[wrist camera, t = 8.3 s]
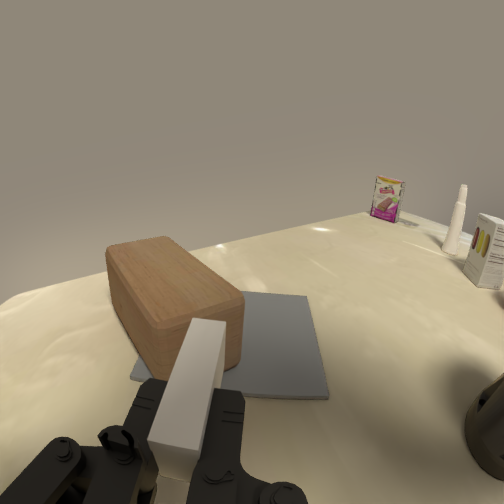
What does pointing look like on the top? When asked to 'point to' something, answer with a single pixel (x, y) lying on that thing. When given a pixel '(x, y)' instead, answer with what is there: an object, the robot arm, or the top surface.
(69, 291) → the top surface
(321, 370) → the mat
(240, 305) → the wooden block
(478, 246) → the supplement box
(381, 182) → the candy bar box
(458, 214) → the cosmetic bottle
